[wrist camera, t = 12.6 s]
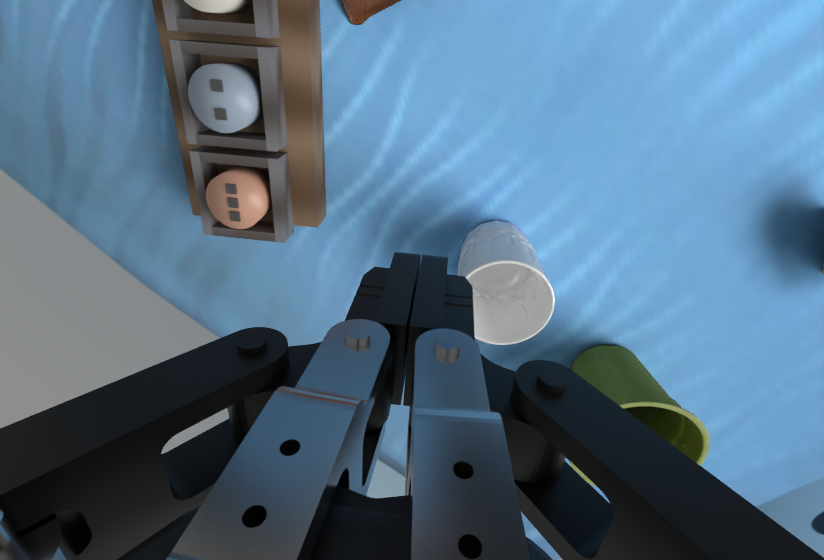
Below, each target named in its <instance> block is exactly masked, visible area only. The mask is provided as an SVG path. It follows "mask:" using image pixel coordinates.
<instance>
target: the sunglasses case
mask: <svg viewBox="0 0 824 560" xmlns="http://www.w3.org/2000/svg"><path fill="white" fill-rule="evenodd" d="M341 1H342V3H343V6H344V8H345V11H346V13H347V15H348V17H349V20H350V22H351V24H355V25H360V24H362V23H364V21H366V20H367V19H368V18H369V17H371V16H372V15H374V14H376V13H378V12H380V11H382V10H384V9H386V8H388V7H389V6H392V5H393V4H395V3H397V2H399V1H401V0H341Z"/></svg>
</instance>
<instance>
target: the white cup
mask: <svg viewBox="0 0 824 560" xmlns="http://www.w3.org/2000/svg"><path fill="white" fill-rule="evenodd" d="M457 276H465V277H466V279H467V280H468V281H469V282H470V284H471V285H472V286H473V309H474V333H475V338H476V339H478V340H480V341H483V342H486V343H490V344H496V345H508V344H515V343H519V342H522V341H525V340H527V339H529V338H531V337H533V336H534V335H536V334H537V333H538V332H540V331H541V330H542V329H543V328H544V327H545V325H546V324H547V323H548V321H549V320H550V318H551V316H552V313H553V310H554V304H555V298H554V292H553V289H552V286H551V284H550V282H549V280H548V278H547V276H546V274H545V271H544V269H543V267H542V265H541V263H540V261H539V258H538V256H537V254H536V253H535V251H534V249H533V247H532V246H531V245H530V243H529V242H528V240H527V237H526V235H525V233H524V232H523V231H522V230H520V229H519V228H518V227H516V226H515V225H513V224H512V223H509V222H503V221H497V220H495V221H491V222H486V223H482V224H480V225H478V226H477V227H476V228H474V229H473V230H472V231H471V232H469V233H468V234H467V236H466V238H465V240H464V242H463V244H462V246H461V255H460V258H459V263H458V269H457Z"/></svg>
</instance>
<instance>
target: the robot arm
mask: <svg viewBox="0 0 824 560" xmlns="http://www.w3.org/2000/svg"><path fill="white" fill-rule="evenodd" d="M447 261H448V257H439V256H429V255H422V260H421V265H420V255H419V254H409V253H399V252H395V253H394V257H393V260H392V263H391V266H390V268H381V267H374V268H373V269H371V270H370V271H368V272H367V273H366V274H364V276H363V278H362V280H361V283H360V287H359V288H358V290H357V292H356V295H355V297H354V300H353V302H352V305H351V307H350V309H349V312H348V314H347V317H346V319H345V321H343V322H340V323H338V324H336V325H334V326H333V327H332V328H331V329H330V330H329V331H328V332H327V334H326V336H325V337H324V339H323V341H322V342H319V343H315V344H309V345H300V346H290V347H288V342H287V339H286V337H285V336H284V335H283V334H282V333H281V332H279V331H277V330H275V329H271V328H266V327H253V328H247V329H243V330H240V331H237V332H234V333H232V334H230V335H227V336H225V337H222V338H220V339H217V340H215V341H213V342H210V343H208V344H205V345H203V346H200V347H198V348H196V349H193V350H191V351H188V352H186V353H183V354H181V355H179V356H176V357H174V358H171V359H169V360H166V361H164V362H161V363H159V364H157V365H154V366H152V367H149V368H147V369H144V370H142V371H140V372H137V373H135V374H132V375H130V376H128V377H125V378H123V379H120V380H118V381H115V382H113V383H110V384H108V385H105V386H103V387H101V388H98V389H96V390H93V391H91V392H89V393H86V394H84V395H81V396H79V397H76V398H74V399H72V400H69V401H66V402H64V403H62V404H60V405H57V406H54V407H52V408H50V409H47V410H45V411H42V412H40V413H37V414H35V415H32V416H30V417H28V418H25V419H23V420H20V421H18V422H15V423H13V424H11V425H8V426H6V427H3V428H1V429H0V560H552V559H551V557H550V556H549V555H548V554H547V553H546V552H545V551H543V550H542V549H541V548H540V547H539V546H537V545H536V544H535V543H534V542H533V541H531V540H530V539H529V538H527V537H526V536H525V531H524V526H523V521H522V516H521V512H522V513H523V514H524V515H525V516H526V517H527V519H528V520H529V521H530V522H531V523H532V524H533V525H534V527H535V528H536V529H537V530H538V531H539V532H540V534H541V535H542V536H543V537H544V538H545V539H546V541H547V542H548V543H549V544H550V545H551V546H552V547H553V549H554V550H555V551H556V552H557V553H558V554H559V556H560V557H561V558H562V559H563V560H824V558H823V557H822V556H820V555H819V554H818V553H816V552H815V551H814V550H812V549H811V548H810V547H808V546H807V545H806V544H804V543H803V542H802V541H800V540H799V539H798V538H796V537H795V536H794V535H792V534H791V533H790V532H788V531H787V530H785V529H784V528H783V527H782V526H780V525H779V524H777V523H776V522H775V521H774V520H772V519H771V518H769V517H768V516H767V515H766V514H764V513H763V512H761V511H760V510H759V509H757V508H756V507H755V506H753V505H752V504H751V503H749V502H748V501H747V500H745V499H744V498H743V497H741V496H740V495H739V494H737V493H736V492H735V491H733V490H732V489H731V488H729V487H728V486H727V485H725V484H724V483H723V482H721V481H720V480H719V479H717V478H716V477H715V476H713V475H712V474H710V473H709V472H708V471H706V470H705V469H704V468H702V467H701V466H700V465H698V464H697V463H696V462H694V461H693V460H692V459H690V458H689V457H688V456H686V455H685V454H684V453H682V452H681V451H680V450H678V449H677V448H676V447H674V446H673V445H672V444H670V443H669V442H668V441H666V440H665V439H664V438H662V437H661V436H659V435H658V434H657V433H655V432H654V431H653V430H651V429H650V428H649V427H647V426H646V425H645V424H643V423H642V422H641V421H639V420H638V419H637V418H635V417H634V416H633V415H631V414H630V413H629V412H627V411H626V410H625V409H623V408H622V407H621V406H619V405H618V404H617V403H615V402H614V401H613V400H611V399H610V398H609V397H607V396H606V395H604V394H603V393H602V392H600V391H599V390H598V389H596V388H595V387H594V386H592V385H591V384H590V383H588V382H587V381H586V380H584V379H583V378H582V377H580V376H579V375H578V374H576V373H575V372H574V371H572V370H571V369H569V368H567V367H565V366H563V365H560V364H558V363H555V362H551V361H544V360H535V361H529V362H526V363H524V364H523V365H521V366H520V367H519V368H518V370H517V372H515V371H512V370H509V369H506V368H503V367H501V366H498V365H496V364H494V363H492V362H490V361H489V360H487V359H486V358H485V357H484V356H483V355H482V354H481V353H480V349H479V346H478V344H477V343H476V342H475V333H474V309H473V286H472V285H471V284H470V282H469V281H468V280H467V279H466V277H465V276H457V275H448V274H447ZM419 269H420V271H419ZM405 375H406V377H405ZM404 381H405V390H404V403H403V405H406V406H410V412H409V423H408V435H407V457H406V480H405V496H398V497H388V498H378V499H377V498H370V497H367V496H366V495H367V491H368V488H369V484H370V481H371V478H372V474H373V471H374V467H375V464H376V461H377V457H378V454H379V450H380V447H381V444H382V440H383V437H384V433H385V428H386V420H387V419H388V416H389V411H390V406H391V404H396V405H401V399H402V393H403V387H404ZM225 408H228V413H229V419H228V420H226V421H224V422H222V423H220V424H218V425H216V426H215V427H213V428H211V429H209V430H207V431H205V432H203V433H202V434H200V435H198V436H196V437H194V438H192V439H190V440H189V441H187V442H185V443H183V444H181V445H179V446H178V447H176V448H174V449H172V450H170V451H168V452H166V453H164V454H161V452H162V449H163V447H164V445H165V444H166V443H167V442H168V440H170V439H171V438H172V437H173V436H174V435H176V434H177V433H179V432H181V431H183V430H185V429H187V428H189V427H191V426H192V425H194V424H196V423H198V422H200V421H202V420H204V419H206V418H208V417H210V416H212V415H214V414H216V413H217V412H219V411H221V410H223V409H225ZM565 458H567V459H568V460H569V461H570V462H571V463H573V464H574V465H575V466H576V467H577V468H578V469H579V470H580V471H581V472H582V473H583V474H584V475H585V476H586V477H587V478H589V479H590V480H591V481H592V482H593V483H594V484H595V485H596V486H597V487H598V488H599V489H600V490H601V491H602V492H603V493H604V494H605V495H606V497H607V498H608V500H609V502H610V503H609V502H608V501H606V500H605V499H604V498H603V497H602V496H601V495H600V494H599V493H598V492H597V491H596V490H595V489H594V488H593V487H592V486H591V485H590V484H589V483H587V482H586V481H585V480H584V479H583V478H582V477H581V476H580V475H579V474H578V473H577V472H576V471H575V470H574V469H573V468H572V467H571V466H569V465H568V464H567V463H566V462H565ZM520 510H521V511H520Z"/></svg>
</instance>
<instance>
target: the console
mask: <svg viewBox="0 0 824 560" xmlns="http://www.w3.org/2000/svg"><path fill="white" fill-rule="evenodd" d="M152 2H153V7H154V12H155V17H156V23H157V28H158V33H159V38H160V44H161V49H162V54H163V59H164V65H165V70H166V75H167V81H168V86H169V91H170V96H171V102H172V107H173V112H174V117H175V123H176V128H177V133H178V138H179V144H180V149H181V154H182V159H183V165H184V170H185V175H186V181H187V186H188V191H189V196H190V202H191V207H192V212H193V215H201V220H202V225H203V231H204V234H206V235H215V236H225V237H235V238H244V239H254V240H264V241H273V242H283V243H285V241H286V240H287V239H288V238H289V237H290V236H291V234H292V233H293V232H294V228H293V225H299V226H309V227H318V226H319V225H320V223H321V222H322V221H323V219H324V218H325V217H326V195H325V164H324V133H323V101H322V70H321V39H320V7H319V0H252V1H251V3H250V4H249V5H248V7H247V8H246V9H244V10H243V11H241V12H239V13H236V14H219V13H210V12H203V11H199V10H197V9H195V8H193V7H191V6H190V5H188V4H187V3H186V2H185V1H184V0H152ZM227 62H235V63H240V64H243V65H245V66H247V67H248V68H250V69H251V70H252V71H253V72H254V73H255V74H256V75H257V76H258V77H259V79H260V83H261V93H262V104H263V116H262V118H261V119H260V120H259V121H258V122H256V123H255V124H253V125H251V126H248V127H246V128H243V129H241V130H238V131H236V132H233V133H220V132H217V131H214V130H212V129H210V128H209V127H207V126H206V125H205V124H203V123H202V122H201V121H200V120H199V118H198V117H197V116H196V114H195V113H194V111H193V109H192V107H191V104H190V101H189V96H188V86H189V81H190V79H191V76H192V75H193V73H194V72H195V71H196V70H197V69H198V68H200V67H202V66H204V65H209V64H217V63H227ZM237 165H240V166H251V167H256V168H258V169H259V170H261V171H262V172H263V173H265V174H266V175H267V177H268V178H269V179H270V188H271V198H272V209H271V210H270V211H269V212H268V213H267V214H266V215H265V216H263V217H262V218H261V219H260V220H259V221H258V222H257V223H256V224H254V225H253V226H251V227H249V228H246V229H235V228H231V227H228V226H226V225H224V224H223V223H221V222H220V221H219V220H217V219H216V218H215V217H214V215H213V214H212V213H211V211H210V209H209V207H208V205H207V201H206V189H207V186H208V184H209V183H210V181H211V180H212V179H213V178H215V177H216V176H218V175H220V174H222V173H223V172H225V171H227V170H229V169H230V168H232V167H234V166H237Z"/></svg>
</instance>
